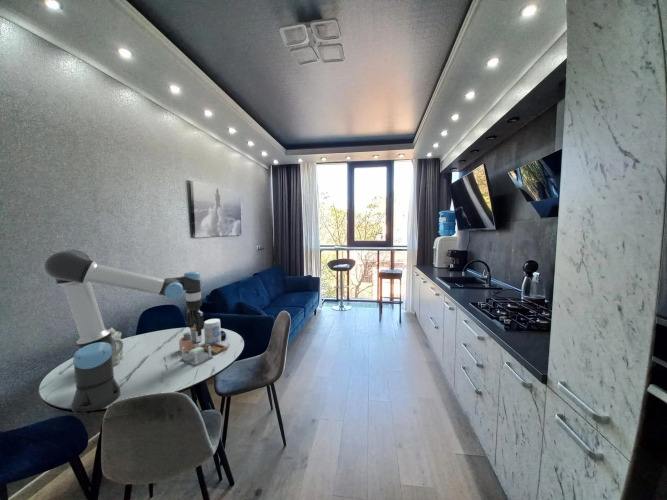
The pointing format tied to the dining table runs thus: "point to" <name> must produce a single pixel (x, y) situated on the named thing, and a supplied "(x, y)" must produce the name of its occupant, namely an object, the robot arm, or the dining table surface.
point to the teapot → (117, 346)
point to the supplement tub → (212, 331)
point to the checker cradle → (196, 357)
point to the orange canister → (186, 342)
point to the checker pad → (196, 350)
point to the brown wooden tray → (216, 348)
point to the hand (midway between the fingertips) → (196, 340)
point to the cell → (194, 335)
